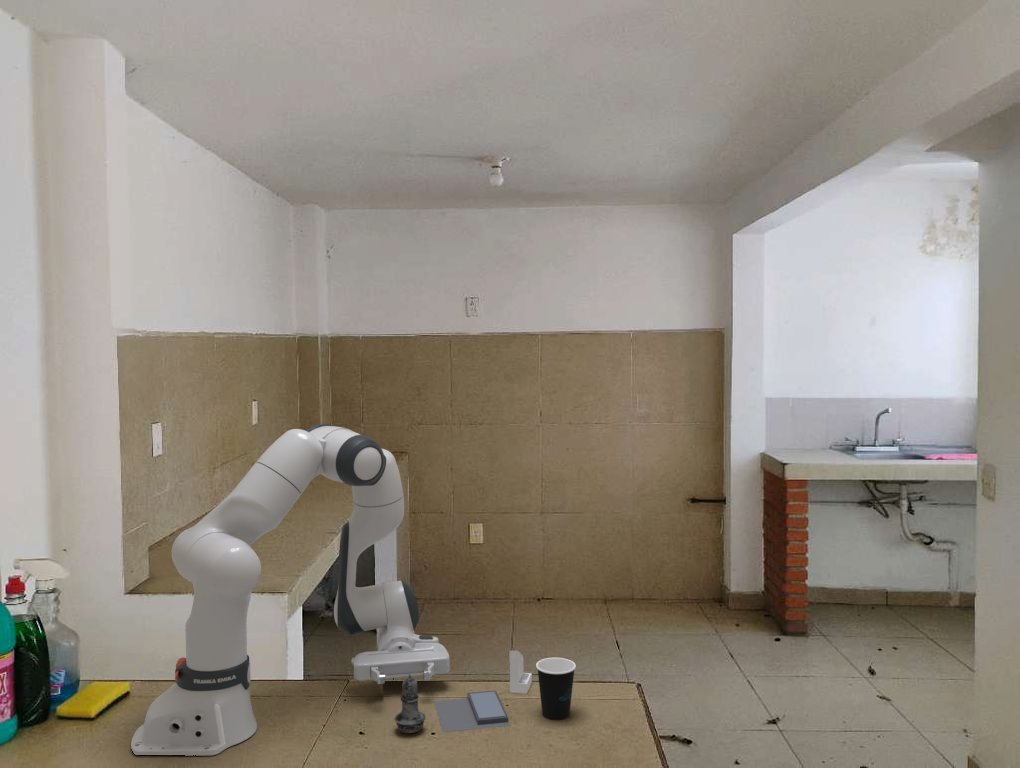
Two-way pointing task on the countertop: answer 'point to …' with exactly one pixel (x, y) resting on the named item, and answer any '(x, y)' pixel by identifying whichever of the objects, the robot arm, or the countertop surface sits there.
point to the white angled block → (518, 674)
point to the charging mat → (459, 716)
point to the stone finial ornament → (410, 708)
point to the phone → (487, 707)
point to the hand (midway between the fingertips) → (404, 678)
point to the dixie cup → (555, 686)
